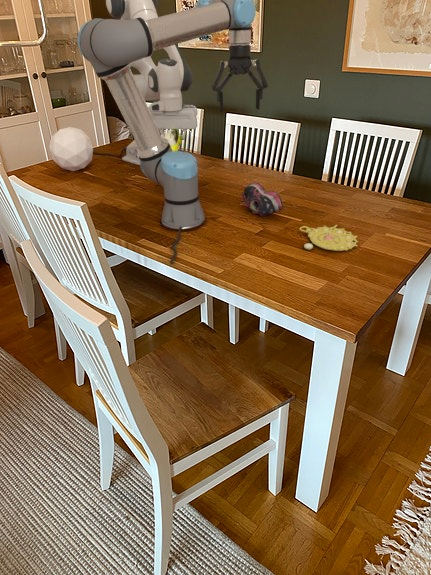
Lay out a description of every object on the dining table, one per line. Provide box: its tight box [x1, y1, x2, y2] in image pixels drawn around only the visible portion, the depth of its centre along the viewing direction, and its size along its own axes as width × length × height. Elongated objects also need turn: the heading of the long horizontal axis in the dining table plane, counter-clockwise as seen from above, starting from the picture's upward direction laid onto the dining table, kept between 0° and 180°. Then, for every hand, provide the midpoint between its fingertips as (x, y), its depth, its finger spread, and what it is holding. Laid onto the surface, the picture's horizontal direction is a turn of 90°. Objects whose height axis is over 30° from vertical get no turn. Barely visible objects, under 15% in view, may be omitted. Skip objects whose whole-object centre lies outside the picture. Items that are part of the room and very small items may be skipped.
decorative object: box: [299, 224, 359, 252], centre depth 141 cm, size 21×2×20 cm
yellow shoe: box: [162, 129, 183, 151], centre depth 178 cm, size 8×24×8 cm, turn 175°
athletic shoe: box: [238, 182, 284, 217], centre depth 160 cm, size 11×22×12 cm
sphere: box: [48, 126, 94, 172], centre depth 206 cm, size 19×20×20 cm
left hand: (173, 139), depth 185 cm, fingers closed on yellow shoe, 6 cm apart
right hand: (239, 110), depth 163 cm, fingers open, 13 cm apart
